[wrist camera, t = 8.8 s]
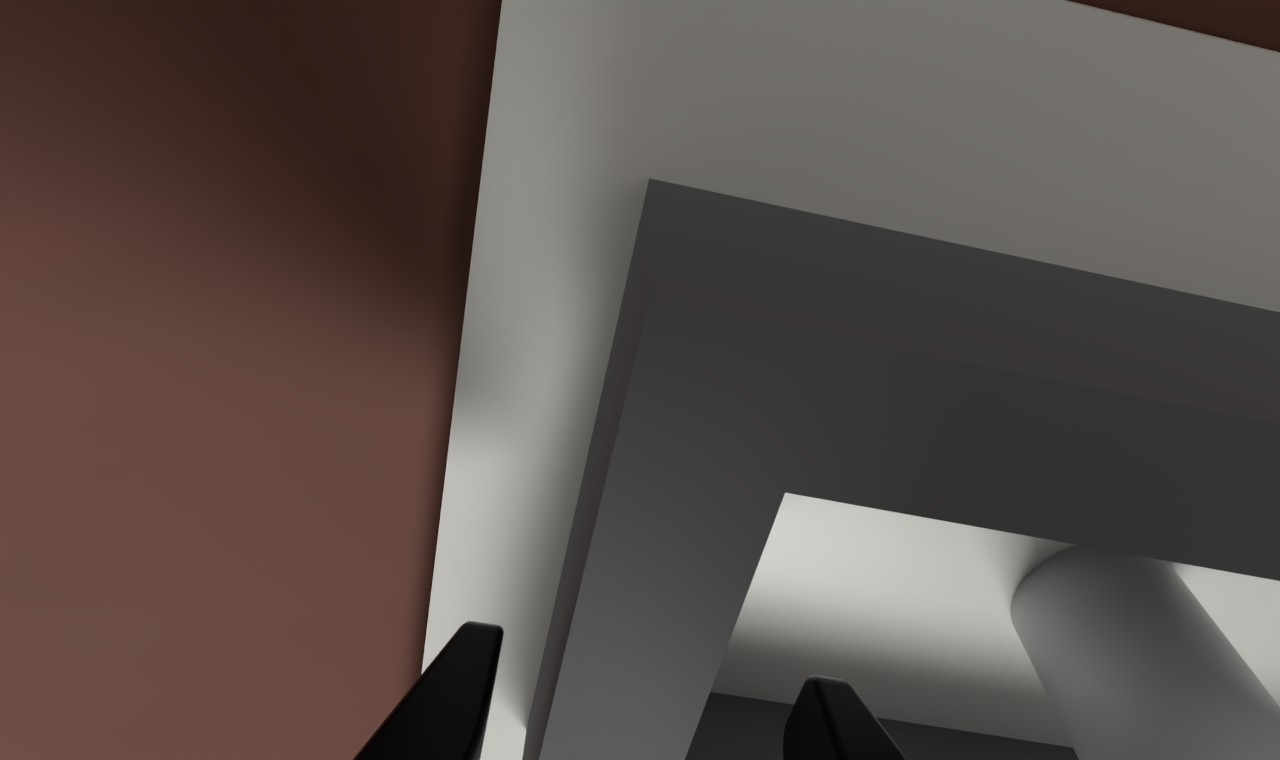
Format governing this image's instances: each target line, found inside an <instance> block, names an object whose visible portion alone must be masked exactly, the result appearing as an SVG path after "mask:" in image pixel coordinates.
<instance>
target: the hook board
mask: <svg viewBox="0 0 1280 760" xmlns="http://www.w3.org/2000/svg"><path fill="white" fill-rule="evenodd" d="M649 178H651V179H655V180H660V181H665V182H669V183H674V184H679V185H684V186H688V187H693V188H698V189H702V190H707V191H712V192H716V193H721V194H726V195H731V196H735V197H740V198H745V199H749V200H754V201H759V202H763V203H768V204H773V205H778V206H782V207H787V208H792V209H796V210H801V211H806V212H810V213H815V214H820V215H825V216H829V217H834V218H839V219H843V220H848V221H853V222H857V223H862V224H867V225H872V226H876V227H881V228H886V229H890V230H895V231H900V232H904V233H909V234H914V235H919V236H923V237H928V238H933V239H937V240H942V241H947V242H951V243H956V244H961V245H966V246H970V247H975V248H980V249H984V250H989V251H994V252H998V253H1003V254H1008V255H1013V256H1017V257H1022V258H1027V259H1031V260H1036V261H1041V262H1045V263H1050V264H1055V265H1060V266H1064V267H1069V268H1074V269H1078V270H1083V271H1088V272H1092V273H1097V274H1102V275H1107V276H1111V277H1116V278H1121V279H1125V280H1130V281H1135V282H1139V283H1144V284H1149V285H1154V286H1158V287H1163V288H1168V289H1172V290H1177V291H1182V292H1186V293H1191V294H1196V295H1201V296H1205V297H1210V298H1215V299H1219V300H1224V301H1229V302H1233V303H1238V304H1243V305H1248V306H1252V307H1257V308H1262V309H1266V310H1271V311H1276V312H1280V52H1277V51H1272V50H1268V49H1264V48H1260V47H1256V46H1252V45H1248V44H1244V43H1240V42H1236V41H1232V40H1227V39H1223V38H1219V37H1215V36H1211V35H1207V34H1203V33H1199V32H1195V31H1191V30H1187V29H1182V28H1178V27H1174V26H1170V25H1166V24H1162V23H1158V22H1154V21H1150V20H1146V19H1142V18H1138V17H1133V16H1129V15H1125V14H1121V13H1117V12H1113V11H1109V10H1105V9H1101V8H1097V7H1093V6H1088V5H1084V4H1080V3H1076V2H1072V1H1068V0H502V5H501V14H500V22H499V30H498V39H497V47H496V55H495V64H494V72H493V80H492V89H491V97H490V105H489V114H488V122H487V131H486V139H485V147H484V156H483V164H482V172H481V181H480V189H479V197H478V206H477V214H476V222H475V231H474V239H473V247H472V256H471V264H470V272H469V281H468V289H467V298H466V306H465V314H464V323H463V331H462V339H461V348H460V356H459V364H458V373H457V381H456V389H455V398H454V406H453V414H452V423H451V431H450V439H449V448H448V456H447V465H446V473H445V481H444V490H443V498H442V506H441V515H440V523H439V531H438V540H437V548H436V556H435V565H434V573H433V581H432V590H431V598H430V606H429V615H428V623H427V631H426V640H425V648H424V657H423V665H422V673H423V672H424V671H425V670H426V668H427V667H428V666H429V665H430V664H431V662H432V661H433V660H434V659H435V657H436V656H437V655H438V654H439V652H440V651H441V650H442V649H443V647H444V646H445V645H446V644H447V642H448V641H449V640H450V639H451V638H452V636H453V635H454V634H455V633H456V631H457V630H458V629H459V628H460V627H461V625H463V624H464V623H465V622H467V621H475V622H482V623H488V624H495V625H499V626H501V627H502V628H503V631H504V635H503V641H502V646H501V652H500V657H499V662H498V668H497V673H496V679H495V684H494V689H493V694H492V700H491V705H490V710H489V715H488V721H487V726H486V731H485V736H484V742H483V747H482V752H481V757H480V760H522V757H523V751H524V744H525V737H526V730H527V726H528V721H529V717H530V712H531V708H532V703H533V699H534V694H535V690H536V685H537V681H538V676H539V672H540V667H541V663H542V658H543V654H544V649H545V645H546V640H547V636H548V631H549V627H550V622H551V618H552V613H553V609H554V604H555V600H556V595H557V591H558V586H559V582H560V577H561V573H562V568H563V564H564V559H565V555H566V550H567V546H568V541H569V537H570V532H571V528H572V523H573V519H574V514H575V510H576V505H577V501H578V496H579V492H580V487H581V483H582V478H583V474H584V469H585V465H586V460H587V456H588V451H589V447H590V442H591V438H592V433H593V429H594V424H595V420H596V415H597V411H598V406H599V402H600V397H601V393H602V388H603V384H604V379H605V375H606V370H607V366H608V361H609V357H610V352H611V348H612V343H613V339H614V335H615V330H616V326H617V321H618V317H619V312H620V308H621V303H622V299H623V294H624V290H625V285H626V281H627V276H628V272H629V267H630V263H631V258H632V254H633V249H634V245H635V240H636V236H637V231H638V227H639V222H640V218H641V213H642V209H643V204H644V200H645V195H646V191H647V186H648V182H649ZM422 673H421V675H422ZM811 675H820V676H826V677H833V678H839V679H843V680H845V681H847V682H848V683H849V684H850V685H851V686H852V687H853V688H854V689H855V691H856V692H857V693H858V695H859V696H860V697H861V699H862V700H863V701H864V703H865V704H866V705H867V707H868V708H869V709H870V711H871V712H872V713H873V715H874V716H875V717H877V718H884V719H890V720H897V721H903V722H910V723H916V724H923V725H929V726H936V727H942V728H949V729H955V730H962V731H968V732H975V733H981V734H988V735H994V736H1001V737H1007V738H1014V739H1020V740H1027V741H1033V742H1040V743H1046V744H1053V745H1059V746H1066V747H1072V748H1073V749H1074V751H1075V753H1076V755H1077V757H1078V759H1079V760H1280V581H1277V580H1271V579H1265V578H1260V577H1254V576H1249V575H1243V574H1237V573H1232V572H1226V571H1221V570H1215V569H1210V568H1204V567H1198V566H1193V565H1187V564H1182V563H1176V562H1170V561H1165V560H1159V559H1154V558H1148V557H1142V556H1137V555H1131V554H1126V553H1120V552H1114V551H1109V550H1103V549H1098V548H1092V547H1087V546H1081V545H1075V544H1070V543H1064V542H1059V541H1053V540H1047V539H1042V538H1036V537H1031V536H1025V535H1019V534H1014V533H1008V532H1003V531H997V530H991V529H986V528H980V527H975V526H969V525H964V524H958V523H952V522H947V521H941V520H936V519H930V518H924V517H919V516H913V515H908V514H902V513H896V512H891V511H885V510H880V509H874V508H868V507H863V506H857V505H852V504H846V503H841V502H835V501H829V500H824V499H818V498H813V497H807V496H801V495H796V494H790V493H785V494H784V497H783V500H782V502H781V505H780V508H779V510H778V513H777V516H776V518H775V521H774V524H773V526H772V529H771V532H770V534H769V537H768V540H767V542H766V545H765V548H764V550H763V553H762V555H761V558H760V561H759V563H758V566H757V569H756V571H755V574H754V577H753V579H752V582H751V585H750V587H749V590H748V593H747V595H746V598H745V601H744V603H743V606H742V609H741V611H740V614H739V617H738V619H737V622H736V625H735V627H734V630H733V633H732V635H731V638H730V641H729V643H728V646H727V649H726V651H725V654H724V657H723V659H722V662H721V664H720V667H719V670H718V672H717V675H716V678H715V680H714V683H713V686H712V688H711V691H710V692H715V693H721V694H728V695H734V696H741V697H747V698H754V699H760V700H767V701H773V702H780V703H786V704H793V705H794V704H795V702H796V700H797V697H798V695H799V693H800V691H801V689H802V686H803V684H804V682H805V681H806V679H807V678H808V677H810V676H811Z"/></svg>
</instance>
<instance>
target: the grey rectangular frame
mask: <svg viewBox="0 0 1280 760" xmlns="http://www.w3.org/2000/svg"><path fill="white" fill-rule="evenodd" d="M785 493H790V494H796V495H801V496H807V497H813V498H818V499H824V500H829V501H835V502H841V503H846V504H852V505H857V506H863V507H868V508H874V509H880V510H885V511H891V512H896V513H902V514H908V515H913V516H919V517H924V518H930V519H936V520H941V521H947V522H952V523H958V524H964V525H969V526H975V527H980V528H986V529H991V530H997V531H1003V532H1008V533H1014V534H1019V535H1025V536H1031V537H1036V538H1042V539H1047V540H1053V541H1059V542H1064V543H1070V544H1075V545H1081V546H1087V547H1092V548H1098V549H1103V550H1109V551H1114V552H1120V553H1126V554H1131V555H1137V556H1142V557H1148V558H1154V559H1159V560H1165V561H1170V562H1176V563H1182V564H1187V565H1193V566H1198V567H1204V568H1210V569H1215V570H1221V571H1226V572H1232V573H1237V574H1243V575H1249V576H1254V577H1260V578H1265V579H1271V580H1277V581H1280V312H1276V311H1271V310H1266V309H1262V308H1257V307H1252V306H1248V305H1243V304H1238V303H1233V302H1229V301H1224V300H1219V299H1215V298H1210V297H1205V296H1201V295H1196V294H1191V293H1186V292H1182V291H1177V290H1172V289H1168V288H1163V287H1158V286H1154V285H1149V284H1144V283H1139V282H1135V281H1130V280H1125V279H1121V278H1116V277H1111V276H1107V275H1102V274H1097V273H1092V272H1088V271H1083V270H1078V269H1074V268H1069V267H1064V266H1060V265H1055V264H1050V263H1045V262H1041V261H1036V260H1031V259H1027V258H1022V257H1017V256H1013V255H1008V254H1003V253H998V252H994V251H989V250H984V249H980V248H975V247H970V246H966V245H961V244H956V243H951V242H947V241H942V240H937V239H933V238H928V237H923V236H919V235H914V234H909V233H904V232H900V231H895V230H890V229H886V228H881V227H876V226H872V225H867V224H862V223H857V222H853V221H848V220H843V219H839V218H834V217H829V216H825V215H820V214H815V213H810V212H806V211H801V210H796V209H792V208H787V207H782V206H778V205H773V204H768V203H763V202H759V201H754V200H749V199H745V198H740V197H735V196H731V195H726V194H721V193H716V192H712V191H707V190H702V189H698V188H693V187H688V186H684V185H679V184H674V183H669V182H665V181H660V180H655V179H651V178H649V182H648V186H647V191H646V195H645V200H644V204H643V209H642V213H641V218H640V222H639V227H638V231H637V236H636V240H635V245H634V249H633V254H632V258H631V263H630V267H629V272H628V276H627V281H626V285H625V290H624V294H623V299H622V303H621V308H620V312H619V317H618V321H617V326H616V330H615V335H614V339H613V343H612V348H611V352H610V357H609V361H608V366H607V370H606V375H605V379H604V384H603V388H602V393H601V397H600V402H599V406H598V411H597V415H596V420H595V424H594V429H593V433H592V438H591V442H590V447H589V451H588V456H587V460H586V465H585V469H584V474H583V478H582V483H581V487H580V492H579V496H578V501H577V505H576V510H575V514H574V519H573V523H572V528H571V532H570V537H569V541H568V546H567V550H566V555H565V559H564V564H563V568H562V573H561V577H560V582H559V586H558V591H557V595H556V600H555V604H554V609H553V613H552V618H551V622H550V627H549V631H548V636H547V640H546V645H545V649H544V654H543V658H542V663H541V667H540V672H539V676H538V681H537V685H536V690H535V694H534V699H533V703H532V708H531V712H530V717H529V721H528V726H527V730H526V737H525V744H524V751H523V757H522V760H783V735H784V729H785V725H786V722H787V719H788V717H789V715H790V713H791V711H792V708H793V706H794V705H793V704H786V703H780V702H773V701H767V700H760V699H754V698H747V697H741V696H734V695H728V694H721V693H715V692H710V691H711V688H712V686H713V683H714V680H715V678H716V675H717V672H718V670H719V667H720V664H721V662H722V659H723V657H724V654H725V651H726V649H727V646H728V643H729V641H730V638H731V635H732V633H733V630H734V627H735V625H736V622H737V619H738V617H739V614H740V611H741V609H742V606H743V603H744V601H745V598H746V595H747V593H748V590H749V587H750V585H751V582H752V579H753V577H754V574H755V571H756V569H757V566H758V563H759V561H760V558H761V555H762V553H763V550H764V548H765V545H766V542H767V540H768V537H769V534H770V532H771V529H772V526H773V524H774V521H775V518H776V516H777V513H778V510H779V508H780V505H781V502H782V500H783V497H784V494H785ZM876 719H877V720H878V721H879V723H880V724H881V725H882V727H883V728H884V729H885V731H886V732H887V733H888V735H889V736H890V737H891V739H892V740H893V741H894V743H895V744H896V745H897V747H898V748H899V749H900V751H901V752H902V753H903V755H904V756H905V757H906V759H907V760H1079V759H1078V757H1077V755H1076V753H1075V751H1074V749H1073V748H1072V747H1066V746H1059V745H1053V744H1046V743H1040V742H1033V741H1027V740H1020V739H1014V738H1007V737H1001V736H994V735H988V734H981V733H975V732H968V731H962V730H955V729H949V728H942V727H936V726H929V725H923V724H916V723H910V722H903V721H897V720H890V719H884V718H877V717H876Z"/></svg>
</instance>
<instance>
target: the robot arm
mask: <svg viewBox="0 0 1280 760" xmlns="http://www.w3.org/2000/svg"><path fill="white" fill-rule="evenodd" d="M503 635H504V631H503V628H502V627H501V626H499V625H495V624H488V623H482V622H475V621H467V622H465V623H464V624H463V625H461V627H460V628H459V629H458V630H457V631H456V633H455V634H454V635H453V636H452V638H451V639H450V640H449V641H448V642H447V644H446V645H445V646H444V647H443V649H442V650H441V651H440V652H439V654H438V655H437V656H436V657H435V659H434V660H433V661H432V662H431V664H430V665H429V666H428V667H427V668H426V670H425V671H424V672H423V673H422V675H421V676H420V677H419V678H418V680H417V681H416V682H415V683H414V685H413V686H412V687H411V688H410V689H409V691H408V692H407V693H406V694H405V696H404V697H403V698H402V699H401V701H400V702H399V703H398V704H397V706H396V707H395V708H394V709H393V711H392V712H391V713H390V714H389V715H388V717H387V718H386V719H385V720H384V722H383V723H382V724H381V725H380V727H379V728H378V729H377V730H376V732H375V733H374V734H373V735H372V737H371V738H370V739H369V740H368V741H367V743H366V744H365V745H364V746H363V748H362V749H361V750H360V751H359V753H358V754H357V755H356V756H355V758H354V759H353V760H480V757H481V752H482V747H483V742H484V736H485V731H486V726H487V721H488V715H489V710H490V705H491V700H492V694H493V689H494V684H495V679H496V673H497V668H498V662H499V657H500V652H501V646H502V641H503ZM783 760H907V759H906V757H905V756H904V755H903V753H902V752H901V751H900V749H899V748H898V747H897V745H896V744H895V743H894V741H893V740H892V739H891V737H890V736H889V735H888V733H887V732H886V731H885V729H884V728H883V727H882V725H881V724H880V723H879V721H878V720H877V719H876V717H875V716H874V715H873V713H872V712H871V711H870V709H869V708H868V707H867V705H866V704H865V703H864V701H863V700H862V699H861V697H860V696H859V695H858V693H857V692H856V691H855V689H854V688H853V687H852V686H851V685H850V684H849V683H848V682H847V681H845V680H843V679H839V678H833V677H826V676H820V675H811V676H810V677H808V678H807V679H806V681H805V682H804V684H803V686H802V689H801V691H800V693H799V695H798V697H797V700H796V702H795V704H794V706H793V708H792V711H791V713H790V715H789V717H788V719H787V722H786V725H785V729H784V735H783Z"/></svg>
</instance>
